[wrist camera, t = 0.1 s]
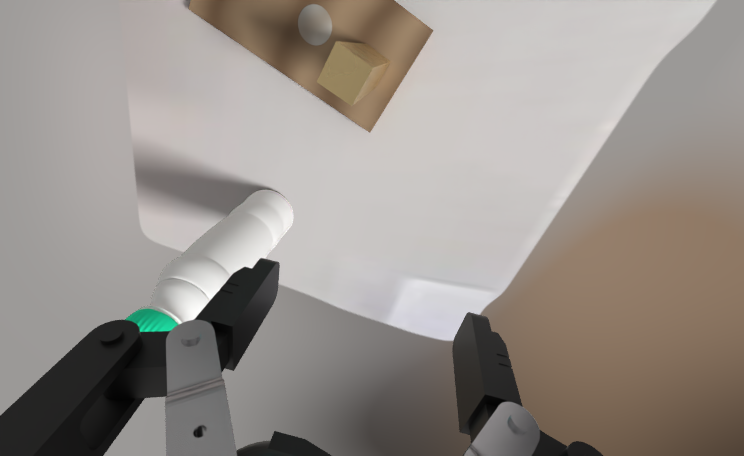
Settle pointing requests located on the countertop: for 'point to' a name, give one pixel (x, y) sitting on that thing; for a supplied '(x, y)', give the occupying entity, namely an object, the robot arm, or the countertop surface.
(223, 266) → the water bottle
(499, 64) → the countertop surface
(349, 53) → the brass leg
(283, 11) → the brown wooden stand
